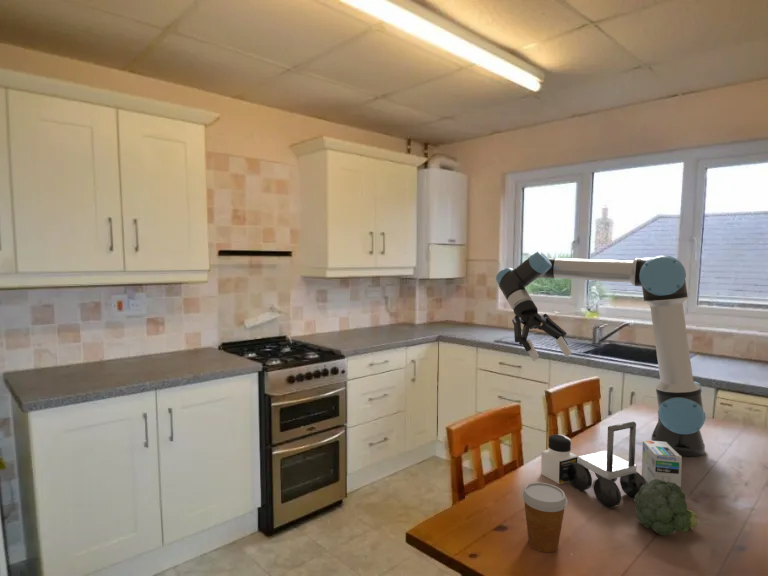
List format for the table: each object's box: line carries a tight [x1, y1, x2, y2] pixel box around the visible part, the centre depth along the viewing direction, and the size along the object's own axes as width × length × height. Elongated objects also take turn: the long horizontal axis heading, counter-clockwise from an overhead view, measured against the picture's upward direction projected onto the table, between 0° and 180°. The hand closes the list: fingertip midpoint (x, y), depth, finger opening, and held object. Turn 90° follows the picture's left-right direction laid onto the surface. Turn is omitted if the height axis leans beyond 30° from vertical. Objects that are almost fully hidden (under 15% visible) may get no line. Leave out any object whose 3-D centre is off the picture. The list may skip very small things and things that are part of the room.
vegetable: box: [633, 479, 700, 537], centre depth 108 cm, size 12×13×15 cm
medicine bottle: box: [540, 433, 579, 485], centre depth 133 cm, size 7×7×12 cm
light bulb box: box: [641, 439, 683, 488], centre depth 128 cm, size 11×7×11 cm, turn 168°
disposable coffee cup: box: [521, 481, 568, 553], centre depth 102 cm, size 10×10×12 cm
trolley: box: [568, 421, 647, 509], centre depth 123 cm, size 11×16×21 cm
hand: (552, 356), depth 148 cm, fingers open, 13 cm apart
